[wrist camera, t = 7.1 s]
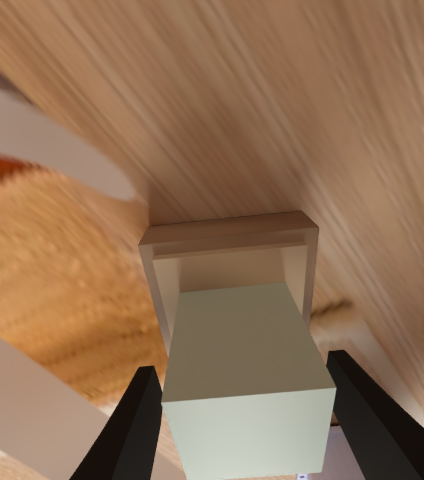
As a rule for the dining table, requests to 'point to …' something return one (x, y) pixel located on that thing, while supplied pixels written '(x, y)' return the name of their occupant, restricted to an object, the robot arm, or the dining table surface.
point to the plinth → (229, 259)
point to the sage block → (246, 385)
